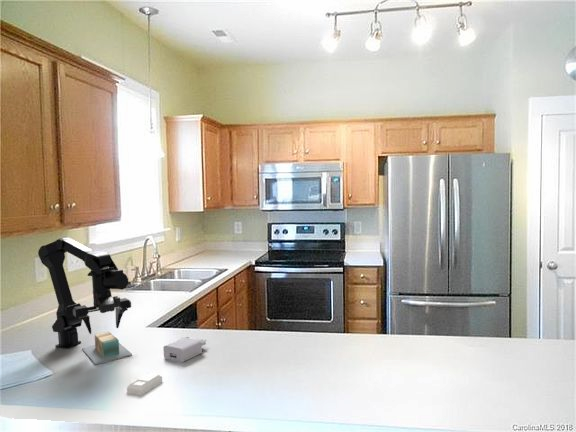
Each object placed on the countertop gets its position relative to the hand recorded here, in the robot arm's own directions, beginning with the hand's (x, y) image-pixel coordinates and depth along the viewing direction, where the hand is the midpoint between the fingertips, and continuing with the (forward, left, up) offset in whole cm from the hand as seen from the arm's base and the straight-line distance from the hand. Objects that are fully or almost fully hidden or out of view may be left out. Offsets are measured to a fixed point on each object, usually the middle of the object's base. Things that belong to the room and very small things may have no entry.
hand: (104, 330), depth 152 cm
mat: (+2, -1, -7) cm, 8 cm away
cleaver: (+22, +11, -8) cm, 26 cm away
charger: (+32, +6, -8) cm, 34 cm away
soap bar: (+35, -21, -8) cm, 41 cm away
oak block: (-3, +2, -4) cm, 6 cm away
